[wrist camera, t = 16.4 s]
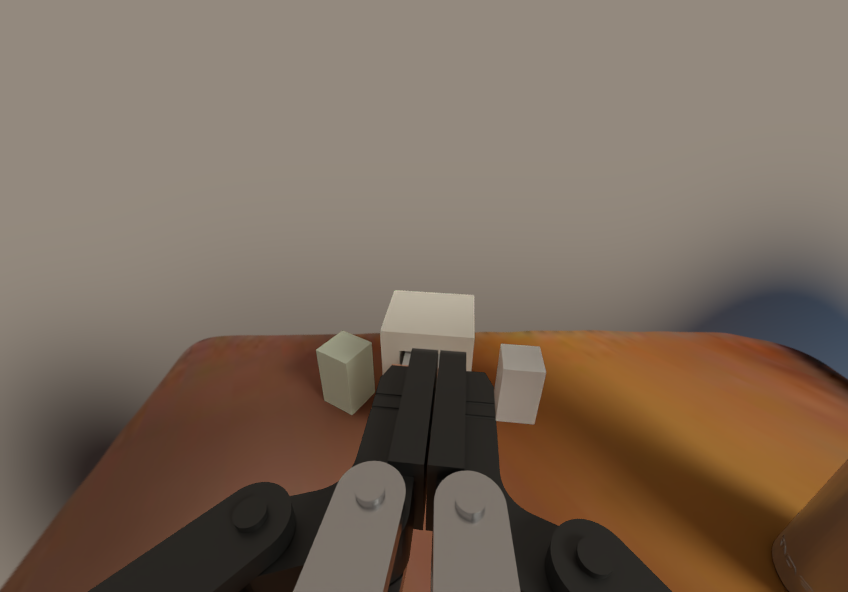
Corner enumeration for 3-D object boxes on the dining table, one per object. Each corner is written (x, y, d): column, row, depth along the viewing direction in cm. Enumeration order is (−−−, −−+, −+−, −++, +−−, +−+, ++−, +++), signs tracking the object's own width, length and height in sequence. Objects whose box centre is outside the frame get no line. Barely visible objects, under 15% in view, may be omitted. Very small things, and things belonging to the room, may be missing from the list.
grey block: (529, 396, 48) (539, 346, 44) (534, 424, 44) (546, 372, 40) (493, 393, 49) (500, 343, 45) (495, 420, 45) (503, 369, 41)
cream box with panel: (397, 381, 50) (394, 290, 43) (465, 387, 49) (474, 295, 42) (385, 430, 43) (380, 331, 36) (464, 438, 43) (474, 338, 35)
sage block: (375, 392, 49) (371, 342, 44) (352, 415, 45) (345, 363, 41) (348, 379, 51) (342, 330, 46) (324, 400, 47) (315, 350, 43)
